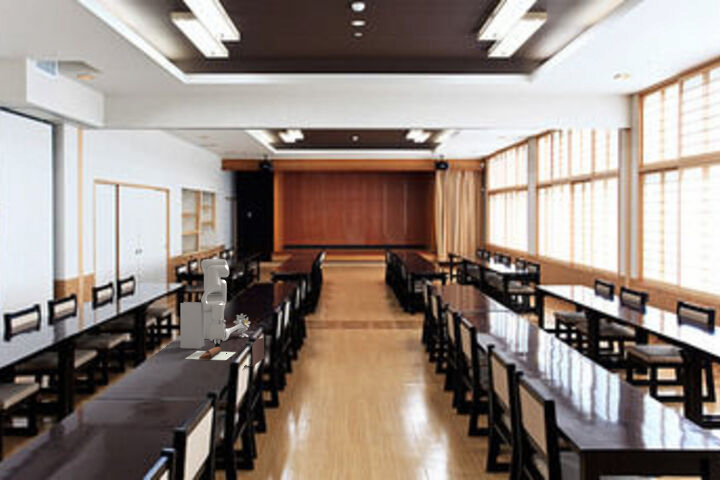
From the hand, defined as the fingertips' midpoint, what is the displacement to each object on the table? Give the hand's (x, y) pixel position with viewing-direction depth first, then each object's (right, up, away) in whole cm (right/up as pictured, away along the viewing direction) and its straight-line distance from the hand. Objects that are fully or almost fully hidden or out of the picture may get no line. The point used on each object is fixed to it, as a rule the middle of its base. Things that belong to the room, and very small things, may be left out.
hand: (217, 349), depth 364 cm
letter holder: (+27, -3, -27) cm, 38 cm away
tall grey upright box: (-19, -1, +9) cm, 21 cm away
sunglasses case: (-1, -2, -14) cm, 14 cm away
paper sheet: (-1, -1, -12) cm, 12 cm away
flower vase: (+2, 0, +38) cm, 38 cm away
